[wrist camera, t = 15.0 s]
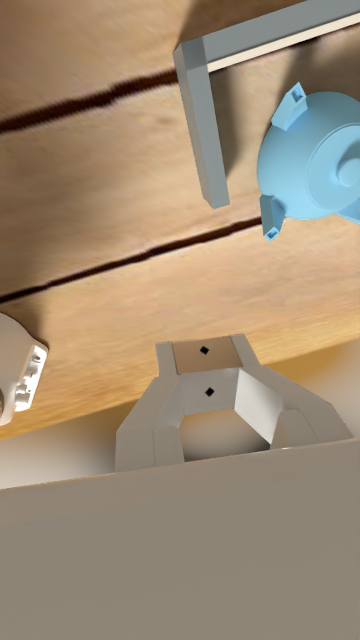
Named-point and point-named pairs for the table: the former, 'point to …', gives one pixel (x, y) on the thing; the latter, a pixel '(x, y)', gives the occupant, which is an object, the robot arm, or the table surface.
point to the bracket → (235, 46)
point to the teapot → (310, 160)
